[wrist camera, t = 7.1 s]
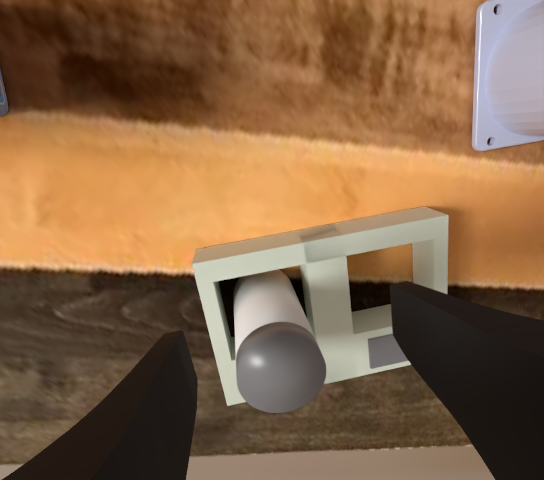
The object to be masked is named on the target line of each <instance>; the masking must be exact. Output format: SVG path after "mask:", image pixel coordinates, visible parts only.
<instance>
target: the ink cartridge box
mask: <svg viewBox="0 0 544 480" xmlns="http://www.w3.org/2000/svg"><path fill="white" fill-rule="evenodd" d="M7 112H8V101H7V96H6V92H5V87H4V82H3V78H2V74H1V70H0V116H4V115H6V114H7Z"/></svg>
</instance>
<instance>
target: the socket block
mask: <svg viewBox="0 0 544 480" xmlns="http://www.w3.org/2000/svg"><path fill="white" fill-rule="evenodd" d="M448 216H449V215H447V214H444V213H442V212H439V211H436V210H433V209H431V208H428V207H425V206H423V207H418V208H413V209H407V210H402V211H397V212H392V213H386V214H381V215H376V216H370V217H365V218H360V219H354V220H349V221H344V222H338V223H333V224H328V225H323V226H317V227H312V228H307V229H301V230H296V231H291V232H285V233H280V234H275V235H269V236H264V237H259V238H254V239H248V240H243V241H238V242H232V243H227V244H222V245H216V246H211V247H206V248H200V249H196V251H195V255H194V258H193V262H192V266H193V270H194V274H195V278H196V282H197V286H198V290H199V294H200V298H201V302H202V306H203V310H204V314H205V318H206V322H207V326H208V330H209V334H210V338H211V342H212V346H213V350H214V354H215V358H216V362H217V366H218V370H219V374H220V378H221V382H222V386H223V390H224V394H225V398H226V402H227V406H229V405H234V404H238V403H243V402H246V401H245V400H244V399H243V397H242V396H241V394H240V392H239V390H238V387H237V378H236V352H235V337H231V335H230V331H229V326H228V322H227V318H226V313H225V309H224V305H223V300H222V296H221V291H220V287H219V283H218V281H221V280H226V279H232V278H237V277H242V276H247V275H252V274H257V273H262V272H267V271H272V270H277V269H282V268H288V267H293V266H298V265H300V271H301V278H302V286H303V293H304V300H305V307H306V314H307V321H308V323H309V325H310V328H311V330H312V332H313V334H314V337H315V339H316V341H317V344H318V346H319V348H320V351H321V353H322V355H323V357H324V360H325V363H326V378H325V381H324V384H327V383H331V382H336V381H340V380H345V379H349V378H354V377H358V376H363V375H367V374H371V373H376V372H380V371H385V370H389V369H394V368H398V367H403V366H407V365H411V363H410V362H409V361H408V360H407V358H406V356H405V355H404V353H403V352H402V350H401V348H400V347H399V345H398V343H397V342H396V340H395V338H394V336H393V331H392V315H391V304H388V305H383V306H379V307H374V308H369V309H364V310H360V311H355V312H351V302H350V291H349V280H348V269H347V258H346V256H349V255H354V254H359V253H364V252H369V251H374V250H379V249H384V248H389V247H394V246H399V245H405V244H410V243H412V258H413V283H415V284H418V285H422V286H425V287H428V288H431V289H433V290H436V291H439V292H442V293H445V294H447V286H448Z"/></svg>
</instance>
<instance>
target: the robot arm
mask: <svg viewBox="0 0 544 480" xmlns="http://www.w3.org/2000/svg"><path fill="white" fill-rule="evenodd" d="M494 7H496V9H497V13H496V15H495V14H494ZM489 138H490V143H489V144H487V140H488V139H489ZM542 140H544V0H489V1H487V2H484V3H482V4H481V5H480V6H479V8H478V10H477V14H476V41H475V69H474V98H473V127H472V147H473V149H474V150H476V151H485V150H491V149H497V148H502V147H508V146H513V145H519V144H525V143H530V142H536V141H542ZM390 299H391V315H392V331H393V336H394V338H395V340H396V342H397V343H398V345H399V347H400V348H401V350H402V352H403V353H404V355H405V356H406V358H407V360H408V361H409V362H410V363H411V365H412V366H413V367H414V368H415V370H416V371H417V372H418V373H419V375H420V376H421V377H422V378H423V380H424V381H425V382H426V383H427V385H428V386H429V387H430V388H431V390H432V391H433V392H434V393H435V395H436V396H437V397H438V398H439V399H440V401H441V402H442V403H443V404H444V406H445V407H446V408H447V409H448V411H449V412H450V413H451V414H452V416H453V417H454V418H455V420H456V421H457V422H458V424H459V425H460V426H461V428H462V429H463V431H464V432H465V434H466V435H467V437H468V438H469V440H470V441H471V443H472V444H473V446H474V447H475V449H476V450H477V452H478V453H479V455H480V456H481V458H482V459H483V461H484V462H485V464H486V466H487V467H488V469H489V470H490V472H491V473H492V475H493V476H494V478H495V480H544V321H543V320H538V319H533V318H529V317H524V316H520V315H515V314H511V313H507V312H503V311H500V310H496V309H493V308H489V307H486V306H482V305H479V304H476V303H472V302H469V301H466V300H463V299H460V298H457V297H454V296H451V295H448V294H445V293H442V292H439V291H436V290H433V289H431V288H428V287H425V286H422V285H418V284H415V283H411V282H407V281H406V282H401V283H397V284H392V285H390ZM196 410H197V376H196V373H195V370H194V366H193V363H192V360H191V356H190V353H189V350H188V346H187V343H186V340H185V336H184V333H183V330H180V331H175V332H171V333H166V334H164V335H163V336H162V337H161V338H160V339H159V340H158V341H157V342H156V343H155V344H154V346H153V347H152V348H151V349H150V350H149V351H148V352H147V354H146V355H145V356H144V357H143V358H142V359H141V360H140V362H139V363H138V364H137V365H136V366H135V367H134V368H133V369H132V370H131V372H130V373H129V374H128V375H127V376H126V377H125V378H124V379H123V380H122V381H121V382H120V383H119V384H118V385H117V386H116V387H115V388H114V389H113V390H112V391H111V392H110V393H109V394H108V395H107V396H106V397H105V398H104V399H103V400H102V401H101V402H100V403H99V404H98V405H97V406H96V407H95V408H94V409H93V410H92V411H91V412H89V413H88V414H87V415H86V416H85V417H84V418H83V419H81V420H80V421H79V422H78V423H77V424H76V425H74V426H73V427H72V428H71V429H70V430H68V431H67V432H66V433H65V434H63V435H62V436H61V437H59V438H58V439H57V440H56V441H54V442H53V443H52V444H50V445H49V446H48V447H47V448H45V449H44V450H43V451H41V452H40V453H39V454H38V455H36V456H35V457H34V458H32V459H31V460H30V461H28V462H27V463H25V464H24V465H22V466H21V467H20V468H18V469H17V470H15V471H14V472H13V473H11V474H10V475H8V476H7V477H5V478H4V479H2V480H186V475H187V468H188V462H189V456H190V449H191V443H192V437H193V430H194V423H195V417H196Z"/></svg>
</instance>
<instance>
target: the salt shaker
mask: <svg viewBox="0 0 544 480" xmlns="http://www.w3.org/2000/svg"><path fill="white" fill-rule="evenodd" d="M233 301H234V326H235V352H236V378H237V387H238V390H239V392H240V394H241V396H242V397H243V399H244V400H245V401H246V402H247V403H248V404H250V405H251V406H252V407H254V408H256V409H259V410H261V411H265V412H271V413H282V412H288V411H292V410H295V409H298V408H300V407H302V406H304V405H305V404H307V403H308V402H310V401H311V400H312V399H313V398H314V397H315V396H316V395H317V394H318V393H319V391H320V390H321V388H322V386H323V384H324V381H325V378H326V363H325V360H324V357H323V355H322V353H321V351H320V348H319V346H318V344H317V341H316V339H315V337H314V334H313V332H312V330H311V328H310V325H309V323H308V321H307V318H306V316H305V314H304V311H303V309H302V307H301V304H300V302H299V300H298V298H297V295H296V293H295V291H294V288H293V286H292V284H291V281H290V280H289V278H288V277H287V276H286V274H284V273H283V272H282V271H280V270H278V269H277V270H272V271H267V272H262V273H257V274H252V275H247V276H242V277H240V278H239V279H238V281H237V283H236V285H235V287H234V292H233Z"/></svg>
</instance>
